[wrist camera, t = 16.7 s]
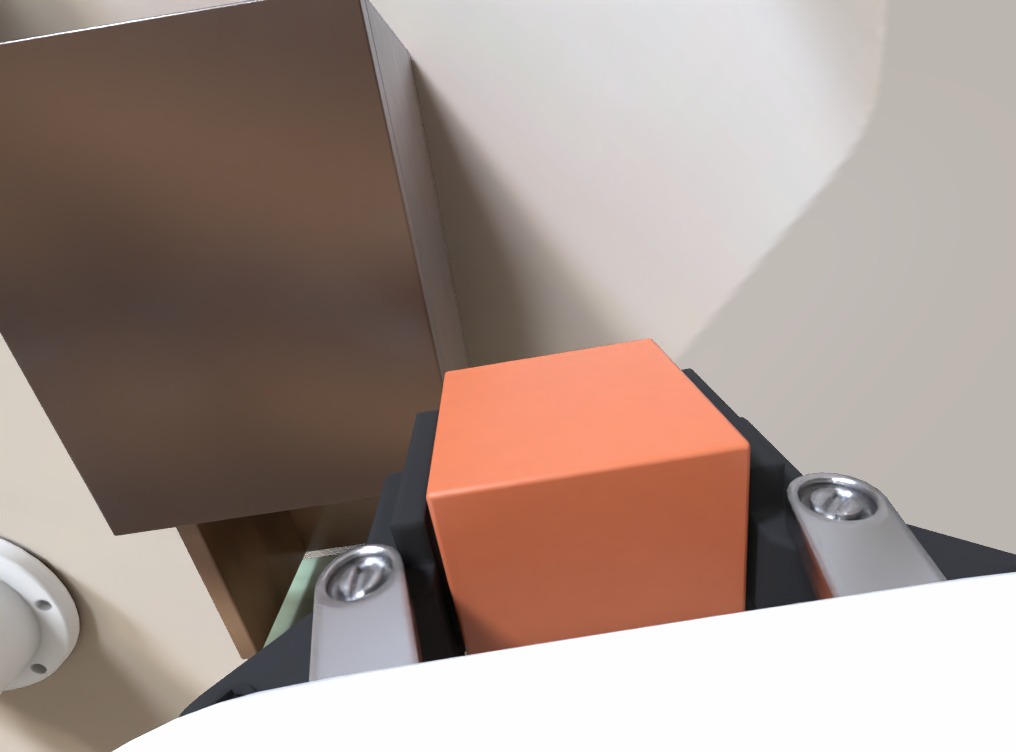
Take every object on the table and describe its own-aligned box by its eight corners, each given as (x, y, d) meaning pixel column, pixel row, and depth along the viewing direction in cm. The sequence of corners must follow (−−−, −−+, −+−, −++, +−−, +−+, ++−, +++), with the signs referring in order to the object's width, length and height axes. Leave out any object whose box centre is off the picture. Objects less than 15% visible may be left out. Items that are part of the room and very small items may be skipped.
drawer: (507, 619, 33) (513, 750, 26) (327, 644, 33) (283, 781, 26) (448, 328, 25) (433, 399, 18) (215, 364, 25) (109, 448, 18)
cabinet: (471, 376, 27) (465, 484, 18) (233, 412, 27) (113, 537, 19) (409, 51, 21) (356, -19, 13) (108, 101, 22) (-151, 67, 13)
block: (480, 535, 13) (481, 714, 9) (444, 370, 11) (423, 495, 7) (660, 507, 13) (745, 672, 9) (652, 336, 11) (753, 443, 7)
